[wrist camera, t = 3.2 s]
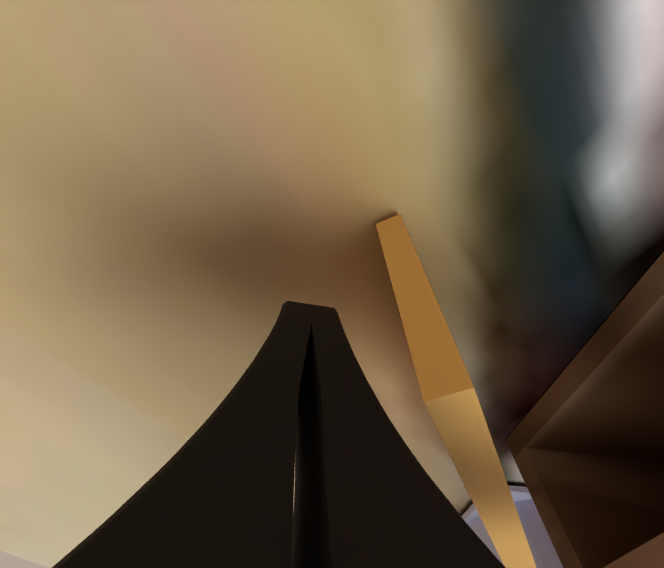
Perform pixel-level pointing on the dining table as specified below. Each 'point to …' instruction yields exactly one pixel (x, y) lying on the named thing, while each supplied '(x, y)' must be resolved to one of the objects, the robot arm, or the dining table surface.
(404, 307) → the cabinet door
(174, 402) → the dining table surface
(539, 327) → the dining table surface
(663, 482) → the cabinet
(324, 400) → the robot arm
